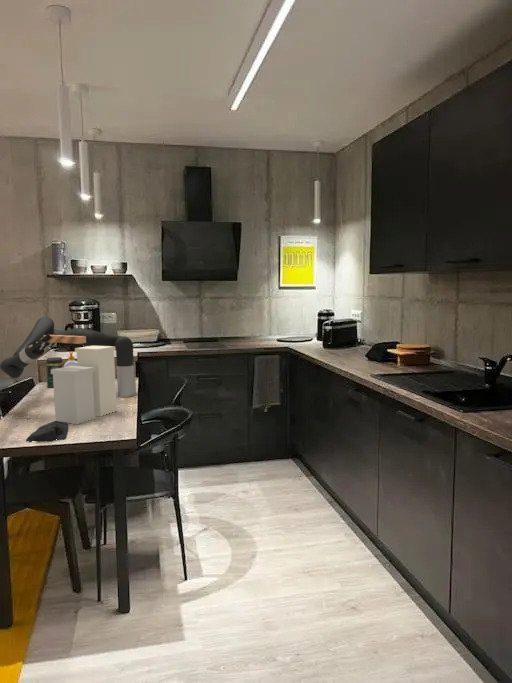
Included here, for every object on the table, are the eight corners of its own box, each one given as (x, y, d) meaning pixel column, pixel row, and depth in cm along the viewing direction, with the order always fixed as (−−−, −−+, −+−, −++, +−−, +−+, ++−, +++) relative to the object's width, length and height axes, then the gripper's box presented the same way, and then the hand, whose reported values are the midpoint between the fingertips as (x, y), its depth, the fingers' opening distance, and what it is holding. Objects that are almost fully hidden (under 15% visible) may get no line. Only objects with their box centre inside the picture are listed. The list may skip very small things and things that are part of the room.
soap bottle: (65, 391, 300) (62, 353, 298) (65, 389, 307) (63, 351, 305) (81, 390, 303) (79, 352, 301) (81, 388, 310) (79, 351, 308)
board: (43, 342, 233) (43, 335, 233) (50, 341, 237) (49, 334, 236) (79, 343, 224) (79, 336, 223) (86, 342, 227) (85, 336, 227)
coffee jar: (46, 388, 310) (44, 358, 309) (48, 386, 318) (46, 357, 316) (63, 387, 313) (61, 357, 311) (64, 385, 321) (62, 356, 319)
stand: (78, 414, 243) (74, 348, 240) (96, 408, 254) (92, 345, 251) (101, 417, 237) (97, 349, 234) (118, 411, 248) (115, 346, 245)
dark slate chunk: (74, 427, 222) (73, 416, 222) (64, 441, 201) (63, 430, 200) (37, 429, 220) (36, 418, 219) (23, 444, 198) (22, 432, 198)
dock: (54, 421, 230) (50, 369, 227) (73, 415, 241) (71, 365, 238) (77, 424, 224) (74, 371, 221) (96, 418, 235) (93, 367, 232)
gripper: (15, 347, 234) (37, 329, 227) (40, 344, 247) (62, 327, 240) (22, 361, 233) (44, 344, 226) (46, 357, 246) (68, 341, 239)
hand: (53, 335), depth 233 cm, fingers closed on board, 4 cm apart
